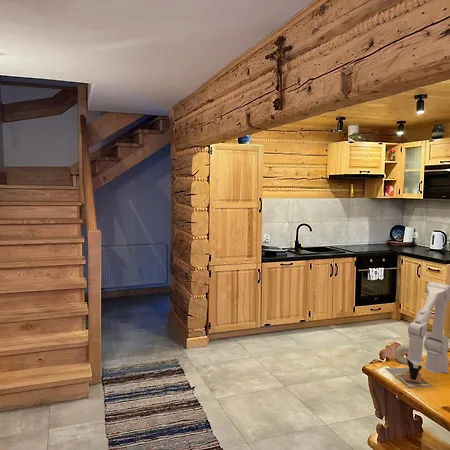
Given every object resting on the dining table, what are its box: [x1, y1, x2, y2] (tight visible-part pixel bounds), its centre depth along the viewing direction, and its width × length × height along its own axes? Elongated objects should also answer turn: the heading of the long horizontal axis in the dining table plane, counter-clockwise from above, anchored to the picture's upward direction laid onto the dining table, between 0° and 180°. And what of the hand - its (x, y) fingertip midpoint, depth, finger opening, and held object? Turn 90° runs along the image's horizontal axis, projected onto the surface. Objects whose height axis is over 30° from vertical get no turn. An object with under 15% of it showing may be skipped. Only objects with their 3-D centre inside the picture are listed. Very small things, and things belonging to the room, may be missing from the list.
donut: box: [395, 344, 409, 365], centre depth 219 cm, size 10×4×10 cm, turn 65°
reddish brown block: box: [404, 370, 423, 383], centre depth 199 cm, size 7×4×3 cm, turn 72°
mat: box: [384, 367, 433, 389], centre depth 203 cm, size 12×20×1 cm, turn 9°
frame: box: [394, 374, 432, 388], centre depth 199 cm, size 11×11×1 cm
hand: (412, 377), depth 199 cm, fingers closed on reddish brown block, 4 cm apart
